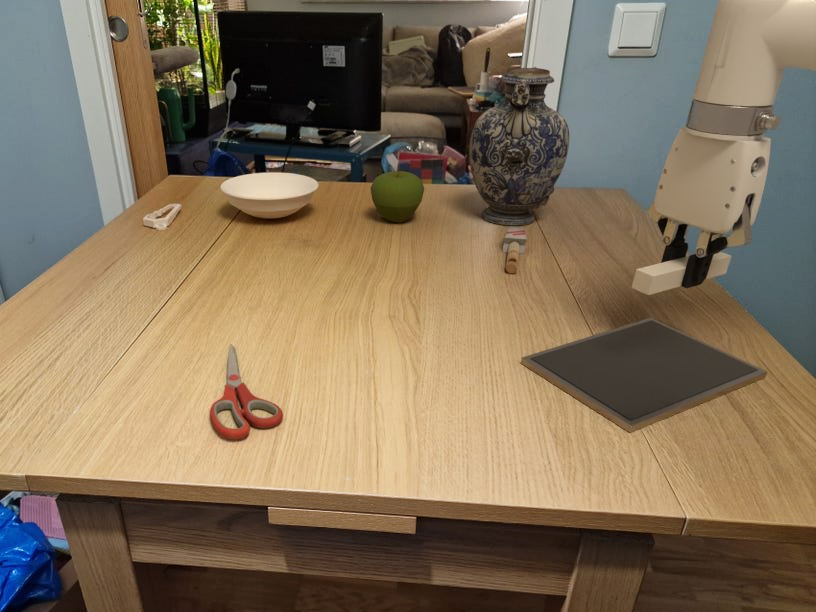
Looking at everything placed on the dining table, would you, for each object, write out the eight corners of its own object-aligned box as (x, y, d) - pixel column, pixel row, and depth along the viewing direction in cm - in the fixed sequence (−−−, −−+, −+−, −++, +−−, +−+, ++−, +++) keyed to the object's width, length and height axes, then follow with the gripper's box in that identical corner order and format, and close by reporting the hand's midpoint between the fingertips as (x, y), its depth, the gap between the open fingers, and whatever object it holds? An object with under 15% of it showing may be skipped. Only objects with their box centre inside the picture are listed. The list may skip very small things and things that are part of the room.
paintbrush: (528, 220, 124) (523, 262, 108) (526, 234, 126) (521, 277, 109) (507, 218, 125) (499, 260, 109) (506, 232, 127) (497, 275, 110)
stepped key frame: (159, 210, 140) (158, 202, 139) (183, 210, 140) (182, 202, 139) (140, 230, 129) (138, 221, 128) (165, 230, 129) (164, 221, 128)
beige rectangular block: (708, 267, 83) (714, 249, 82) (726, 274, 81) (732, 255, 80) (631, 288, 77) (635, 268, 76) (648, 295, 75) (653, 276, 74)
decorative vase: (551, 240, 124) (578, 79, 110) (453, 228, 130) (467, 74, 116) (559, 208, 141) (584, 65, 128) (472, 199, 147) (487, 62, 133)
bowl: (209, 227, 130) (206, 195, 127) (238, 199, 147) (236, 170, 144) (308, 233, 127) (308, 200, 124) (326, 203, 144) (326, 174, 141)
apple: (376, 210, 140) (377, 162, 135) (425, 214, 138) (429, 165, 133) (364, 225, 131) (365, 175, 126) (417, 230, 129) (420, 179, 124)
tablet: (649, 323, 94) (650, 316, 93) (765, 377, 81) (768, 370, 80) (520, 363, 84) (521, 356, 83) (629, 433, 71) (631, 425, 70)
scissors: (235, 345, 88) (234, 335, 87) (291, 429, 71) (290, 418, 71) (177, 356, 85) (176, 346, 85) (222, 447, 69) (220, 436, 68)
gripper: (825, 130, 65) (764, 300, 75) (683, 106, 78) (645, 254, 87) (780, 137, 62) (721, 313, 72) (639, 110, 75) (605, 264, 84)
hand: (680, 279), depth 79 cm, fingers closed on beige rectangular block, 2 cm apart
